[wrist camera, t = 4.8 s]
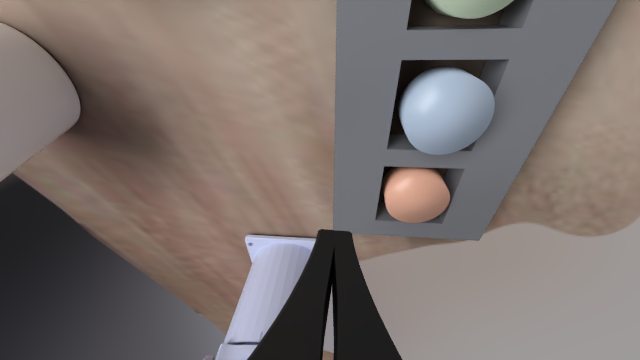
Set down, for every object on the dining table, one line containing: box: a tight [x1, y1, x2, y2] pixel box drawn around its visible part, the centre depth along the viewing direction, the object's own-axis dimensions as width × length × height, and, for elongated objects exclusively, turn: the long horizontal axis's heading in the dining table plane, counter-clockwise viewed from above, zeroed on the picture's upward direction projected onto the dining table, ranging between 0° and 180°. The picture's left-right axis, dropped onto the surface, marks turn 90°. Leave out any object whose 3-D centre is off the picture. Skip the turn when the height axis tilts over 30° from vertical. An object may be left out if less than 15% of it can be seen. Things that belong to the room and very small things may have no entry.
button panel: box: [333, 0, 617, 241], centre depth 13 cm, size 20×11×2 cm, turn 1°
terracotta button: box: [382, 167, 450, 223], centre depth 17 cm, size 4×4×2 cm
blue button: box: [398, 65, 495, 155], centre depth 12 cm, size 4×4×2 cm
